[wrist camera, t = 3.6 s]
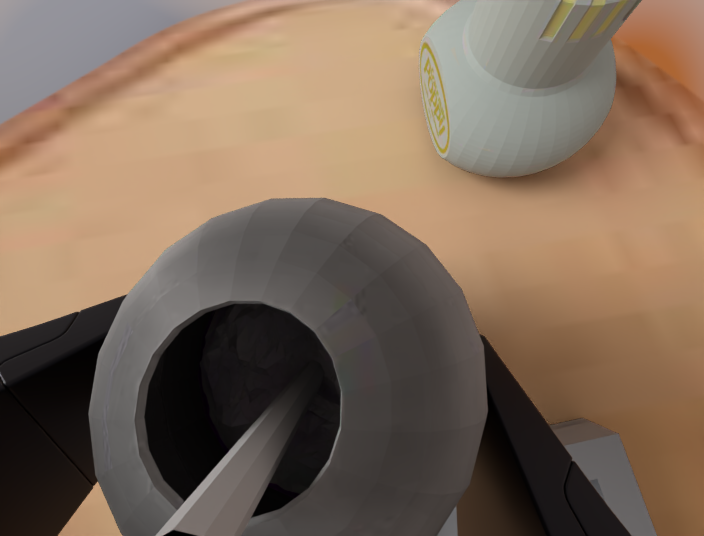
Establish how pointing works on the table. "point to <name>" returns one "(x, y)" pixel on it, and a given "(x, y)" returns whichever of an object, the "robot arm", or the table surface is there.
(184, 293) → the beverage cup
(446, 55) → the air freshener
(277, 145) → the table surface
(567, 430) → the tray
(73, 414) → the robot arm
